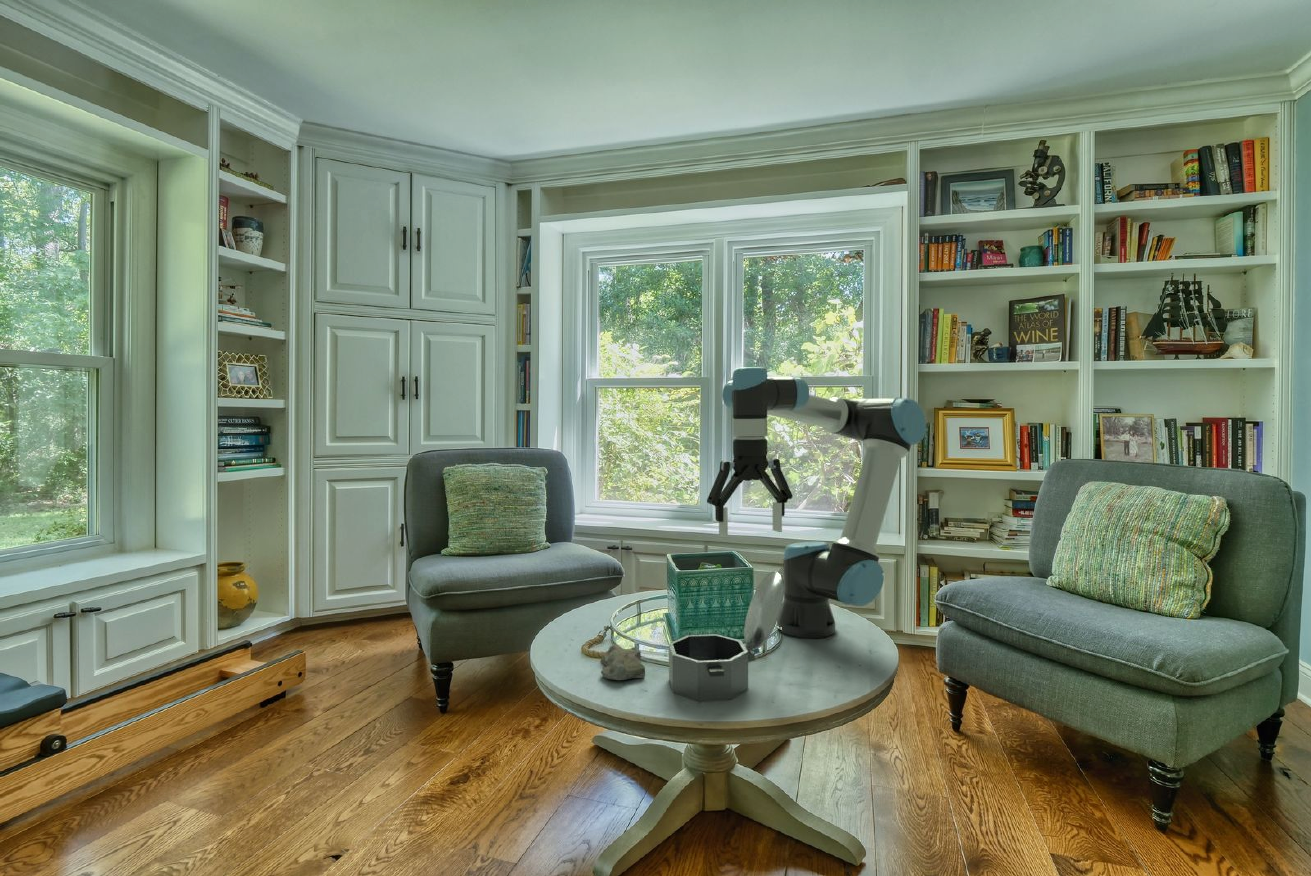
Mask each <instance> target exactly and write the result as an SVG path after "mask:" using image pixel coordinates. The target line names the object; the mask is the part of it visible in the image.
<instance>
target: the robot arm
mask: <svg viewBox="0 0 1311 876" xmlns="http://www.w3.org/2000/svg"><path fill="white" fill-rule="evenodd" d="M809 387H810V386H809V384H808V383H807V382H806V380H805V379H803V378H801V377H797V376H796V377H795V376H769V375H768V371H767V369H766V368H765V367H759V366H757V367H756V366H755V367H753V366H752V367H737V368H735V369H734V370H733V372H732V379H731V380H729V381H727V382H726V384H724V386H723V389H722V396H721V397H722V401H723V403H724V404H725V406H726V407H727V408H728V409H730V410H732V437H734V439H733V440H732V454H733V460H732V461H726V460H721V461H720V462H719V470H718V473H717V476H716V478H715V481H714V483H713V485H712V488H711V490H710V491H709V494H708V497H707V499H706V503H707V504H709V505H711V506H712V505H713V506H714V507H715V508H714V509H715V510H714V512H715V513H714V514H715V515H714V516H715V522H718V536H719V537H722V538H729V535H728V533H729V531H728V529H729V528H728V527H729V526H728V524H729V522H728V521H729V520H728V518H729V517H728V507H727V506H726V504H727V503H728V501H729V500H730V498H731V497H732V495H733V494H734V492H735V491H736V490H737V488H739V485H740V484H742V483H743V482H744V481H746V482H748V481H752V480H754V481H760V482H761V483H762V484H763V486H764V487H765V488H766V489H767V491H768V492H769V493H770V495H771V496H772V497H773V498H774V499H775V501H772V531H774V532H778V533H782V532H783V517H785V513H786V511H785V510H786V509H785V508H786V506H785V505H786V504H787V503H788V501H789V500H792V498H793V493H792V491H791V489H790V487H789V485H788V482H787V480H786V478H785V475H784V473H783V471H782V468H781V462H780V459H779V458H776V457H775V458H774V457H771V458H770V459H768V458H767V457H768V440H767V438H766V437H767V436H768V416H771V417H775V418H776V417H777V418H781V419H784V420H785V419H786V420H790V421H794V422H798V423H803V424H808V425H812V426H816V427H821V428H822V429H823V430H824V431H826V432H827V433H831V434H835V435H839V436H842V437H845V438H848V439H852V440H856V441H859V442H862V445H863V446H864V448H865V450H866V451H865V455H864V457H863V461H862V465H861V468H860V471H859V474H858V478H857V481H856V485H855V488H854V491H853V495H852V499H851V502H850V505H849V509H848V512H847V515H846V518H845V522H844V526H843V529H842V532H841V534H840V535H841V536H840V538H838V539H836V540H835V541H832V544H831V547H830V544H829V543H828V542H826V541H804V542H801V541H800V542H795V543H790V544H788V545H786V547H785V548H784V553H783V559H782V560H783V580H784V597H783V602H782V607H781V610H780V614H779V617H778V619H777V622H776V627H777V626H779V627H782V630H781V631H780V633H783V634H785V635H787V636H792V637H795V638H800V639H801V638H802V639H821V638H822V639H823V638H827V637H831V636H833V635H834V634H835V633H836V620H835V616H834V613H833V610H832V608H831V605H830V601H829V600H833V601H835V602H836V601H837V602H840V603H841V604H844V605H847V606H850V605H851V606H854V607H865V606H868V605H869V604H871V603H872V602H873V601H874V600H875V599H877V597H878V596H879V594H880V593H881V591H882V588H883V584H884V580H885V576H884V570H883V568H882V565H881V564H880V563H879V560H880V555H879V554H878V552H877V550H876V547H877V543H878V540H879V537H880V533H881V529H882V527H883V526H882V525H883V522H884V518H885V516H886V511H887V508H888V504H889V501H890V497H891V494H892V490H893V486H894V484H895V481H896V476H897V473H898V469H899V465H900V462H901V460H902V459H903V458H905V457H907V456H909V454H910V451H911V447H912V446H915V445H918V444H919V443H920V442H922V441H923V440H924V437H925V434H926V430H927V420H926V416H925V412H924V409H923V408H922V406H921V405H920V404H919V403H918V402H917V401H916V400H914V399H911V398H907V397H906V398H903V397H898V396H897V397H890V398H887V397H886V398H880V397H877V398H867V397H866V398H841V397H831V398H825V397H821V396H818V395H817V396H816V395H813V394H810V388H809ZM767 468H768V469H770V472H771V474H772V476H773V479H774V480H775V482H776V484H775V483H774V481H773V480H772V479H771V476H770V475H769V474H768V472H767V471H766V470H767ZM732 470H733V471H734V472H733V474H732V475H731V477H730V480H729V481H728V482H727V480H728V477H729V474H730V472H731V471H732ZM726 482H727V483H726ZM725 484H726V485H725Z"/></svg>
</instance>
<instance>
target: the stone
mask: <svg viewBox="0 0 1311 876" xmlns="http://www.w3.org/2000/svg"><path fill="white" fill-rule="evenodd" d="M640 659H642V656H641V650H639V649H624V648H622V647H621V646H619V645H616V644H612V645H611V646H609V648H608V651H606V652H605V653H603V654H602V657H601V659H600V662H601V664H603V665H604V666H605V667H602V670H601V671H600V673H601V675H602V676H603V677H604V678H605V679H608V680H616V681H625V680H630V679H644V678H645V677H646V668H645V665H644V664H642V663H641V661H640Z"/></svg>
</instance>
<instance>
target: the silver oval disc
mask: <svg viewBox="0 0 1311 876" xmlns="http://www.w3.org/2000/svg"><path fill="white" fill-rule="evenodd" d="M783 600H784V576H783V575H782V574H781V573H780V572H778V571H774V570H773V571H770V572H769V573H767V574H766V575H765V576H764V577H763V578H762V579H761V581H760V582H759V584H758V586H757V587H756V589H755V591H754V594H753V595H752V598H751V601H750V602H749V606H748V610H747V613H746V617H745V622H744V631H743V633H744V635H743V637H744V638H743V639H744V643H745V644H744V645H747V647H748V649H749V650H750V651H754V650H758V649H759V648H761V647H762V646H764V644H765V643H766V642H767V640H768V639H769V637H770V636H771V635H772V633H773V631H774V628H775V626H776V625H777V619H778V617H779V614H780V610H781V607H782V603H783Z"/></svg>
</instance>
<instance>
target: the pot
mask: <svg viewBox="0 0 1311 876" xmlns="http://www.w3.org/2000/svg"><path fill="white" fill-rule="evenodd" d="M755 656H756V654H755V650H753V651H750V650H749V649H748V647H747V645H746V644H744V643H743V641H742V640H740V639H736V638H732V637H729V636H725V635H721V634H716V633H715V634H714V633H713V634H712V633H711V634H710V633H709V634H690V635H689V634H688V635H685V636H683V637H680V638H678V639H676V640H674V641H671V642H669V643H668V680H669V681H668V682H669V684H670V688H671V692H672V693H673V694H676V695H679V696H682V697H686V698H688V699H691V700H693V701H697V702H711V701H729V700H730V701H731V700H732V699H734V698H736V697H738V696H739V695H741V694H742V693H744V692H746V691H747V690H749V662H750V661H751V662H752V661H755V659H756V657H755Z"/></svg>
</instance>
